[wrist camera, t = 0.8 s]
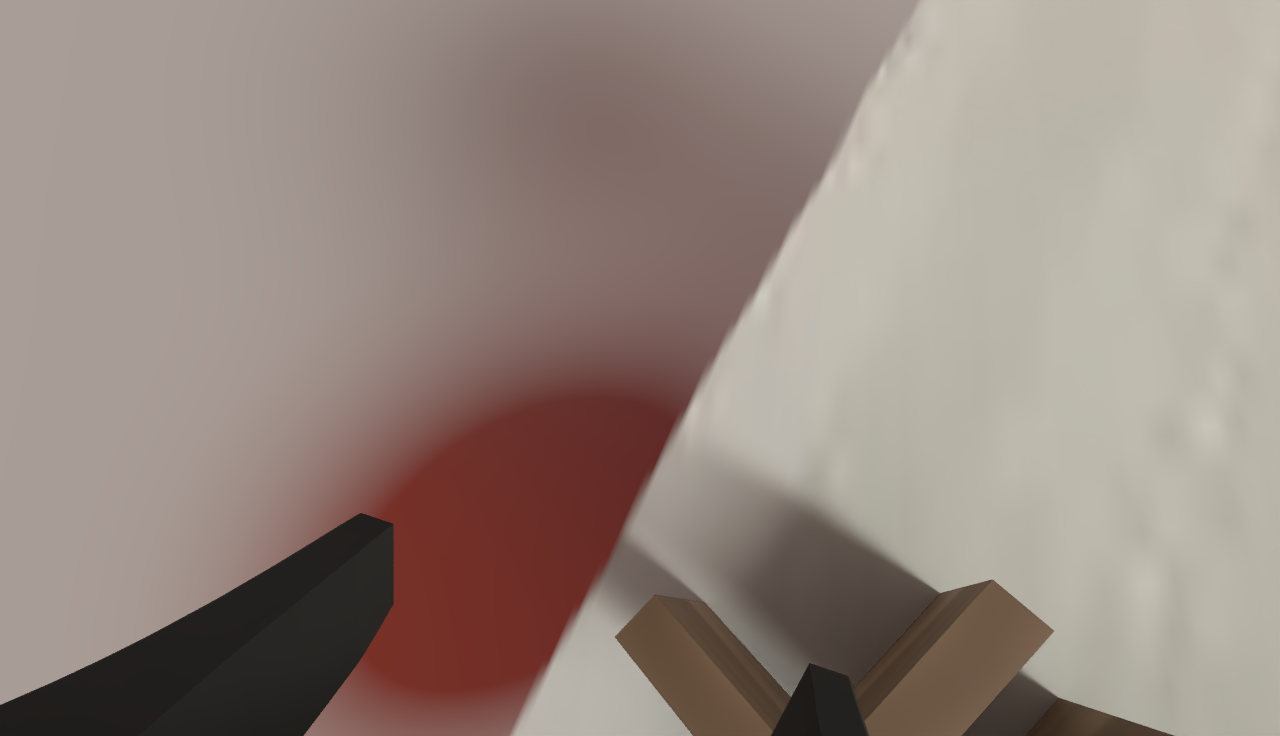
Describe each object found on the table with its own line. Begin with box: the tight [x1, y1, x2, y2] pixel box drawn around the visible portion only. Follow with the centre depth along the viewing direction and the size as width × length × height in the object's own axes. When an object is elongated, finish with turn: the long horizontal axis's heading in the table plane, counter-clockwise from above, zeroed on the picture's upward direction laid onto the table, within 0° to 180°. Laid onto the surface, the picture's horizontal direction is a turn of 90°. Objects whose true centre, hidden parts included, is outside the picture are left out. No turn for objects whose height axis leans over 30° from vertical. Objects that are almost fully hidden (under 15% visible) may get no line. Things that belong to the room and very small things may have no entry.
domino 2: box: [854, 580, 1054, 736], centre depth 18 cm, size 2×5×8 cm, turn 134°
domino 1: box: [615, 595, 791, 736], centre depth 20 cm, size 2×5×8 cm, turn 44°
